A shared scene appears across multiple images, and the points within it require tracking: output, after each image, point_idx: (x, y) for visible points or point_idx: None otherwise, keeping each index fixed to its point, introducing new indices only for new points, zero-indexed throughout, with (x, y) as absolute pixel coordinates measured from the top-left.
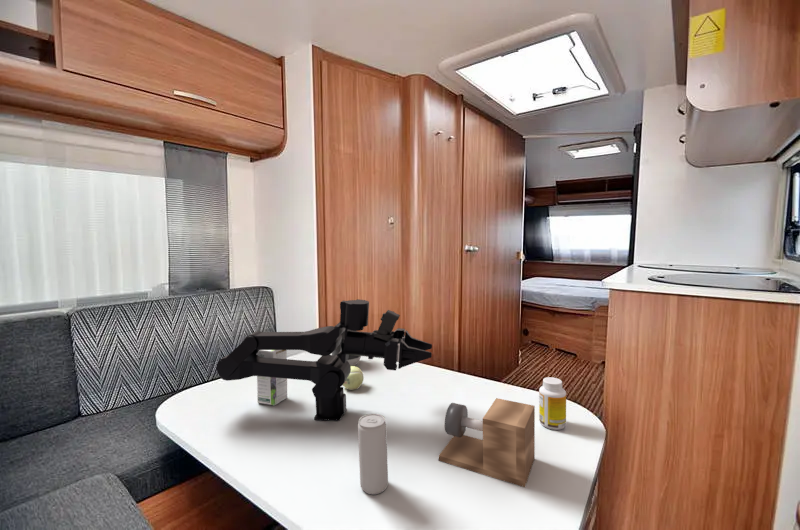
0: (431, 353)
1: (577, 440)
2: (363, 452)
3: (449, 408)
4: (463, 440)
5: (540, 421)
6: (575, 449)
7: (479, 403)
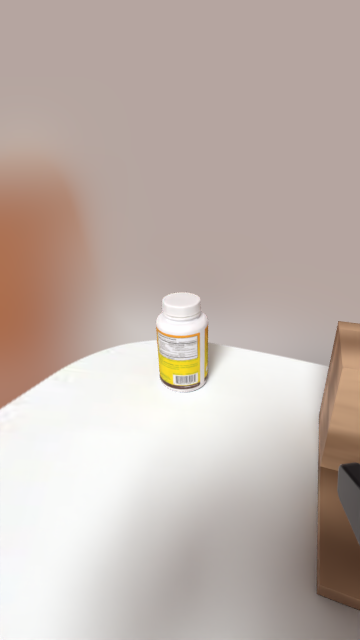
0: (352, 465)
1: (230, 362)
2: None
3: None
4: (353, 555)
5: (189, 388)
6: (259, 367)
7: (69, 507)
